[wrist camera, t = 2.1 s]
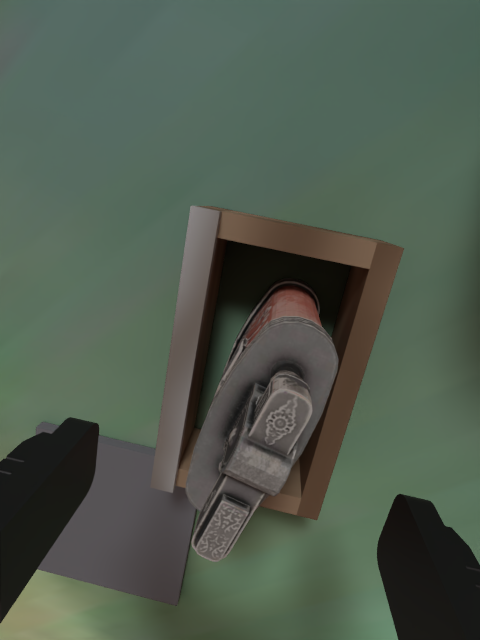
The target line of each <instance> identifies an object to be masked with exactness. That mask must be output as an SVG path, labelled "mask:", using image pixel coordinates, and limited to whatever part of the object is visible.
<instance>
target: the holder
mask: <svg viewBox="0 0 480 640" xmlns="http://www.w3.org/2000/svg"><path fill="white" fill-rule="evenodd" d="M228 240H231V241H236V242H241V243H246V244H250V245H255V246H260V247H265V248H270V249H275V250H279V251H284V252H289V253H294V254H299V255H304V256H309V257H313V258H318V259H323V260H328V261H333V262H338V263H342V264H347V265H352V266H351V269H350V273H349V276H348V280H347V283H346V287H345V290H344V294H343V298H342V301H341V305H340V308H339V312H338V315H337V319H336V322H335V326H334V330H333V333H332V337H331V338H332V341H333V344H334V346H335V350H336V353H337V356H338V368H337V373H336V376H335V379H334V382H333V384H332V387H331V390H330V393H329V396H328V399H327V401H326V404H325V407H324V410H323V413H322V415H321V417H320V419H319V421H318V423H317V425H316V427H315V429H314V431H313V433H312V435H311V437H310V439H309V440H308V442H307V444H306V446H305V448H304V450H303V452H302V454H301V455H300V457H299V458H298V459H297V461H296V462H295V463H294V465H293V466H292V468H291V470H290V473H289V476H288V478H287V480H286V482H285V484H284V486H283V487H282V489H281V490H280V492H279V494H277V495H276V496H275V497H274V496H271V495H269V496H268V497H267V498H266V499H265V500H264V501H263V502H262V504H261V505H260V506H261V507H265V508H269V509H273V510H277V511H281V512H285V513H289V514H294V515H298V516H302V517H306V518H310V519H314V520H317V519H318V516H319V513H320V510H321V507H322V503H323V500H324V497H325V494H326V491H327V488H328V485H329V482H330V478H331V475H332V472H333V469H334V466H335V463H336V460H337V457H338V453H339V450H340V447H341V444H342V441H343V438H344V435H345V432H346V428H347V425H348V422H349V419H350V416H351V413H352V410H353V407H354V403H355V400H356V397H357V394H358V391H359V388H360V385H361V381H362V378H363V375H364V372H365V369H366V366H367V363H368V360H369V356H370V353H371V350H372V347H373V344H374V341H375V338H376V335H377V331H378V328H379V325H380V322H381V319H382V316H383V313H384V310H385V306H386V303H387V300H388V297H389V294H390V291H391V288H392V285H393V281H394V278H395V275H396V272H397V269H398V266H399V263H400V259H401V256H402V253H403V250H404V248H402V247H399V246H396V245H393V244H390V243H387V242H384V241H381V240H376V239H371V238H366V237H361V236H356V235H351V234H346V233H341V232H336V231H332V230H327V229H322V228H317V227H312V226H307V225H302V224H297V223H292V222H287V221H282V220H277V219H272V218H267V217H262V216H257V215H252V214H247V213H242V212H237V211H232V210H228V209H223V208H218V207H213V206H191V208H190V215H189V222H188V229H187V236H186V243H185V250H184V256H183V263H182V270H181V277H180V284H179V291H178V298H177V305H176V312H175V319H174V326H173V333H172V340H171V347H170V354H169V361H168V367H167V374H166V381H165V388H164V395H163V402H162V409H161V416H160V423H159V430H158V437H157V444H156V451H155V458H154V465H153V471H152V478H151V485H150V488H155V489H159V490H163V491H167V492H171V493H173V491H174V488H175V486H179V487H184V488H186V480H187V476H188V471H189V467H190V463H191V459H192V455H193V451H194V447H195V444H196V442H197V439H198V437H199V434H200V431H201V429H197V428H194V427H195V421H196V416H197V410H198V404H199V399H200V393H201V387H202V382H203V376H204V371H205V365H206V359H207V354H208V348H209V342H210V337H211V331H212V325H213V320H214V314H215V309H216V303H217V297H218V292H219V286H220V280H221V275H222V269H223V263H224V258H225V252H226V247H227V241H228Z"/></svg>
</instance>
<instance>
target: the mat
mask: <svg viewBox="0 0 480 640" xmlns="http://www.w3.org/2000/svg"><path fill="white" fill-rule="evenodd" d="M58 427H59V426H58V425H54V424H50V423H46V422H42V423H40V424H39V425H38V426H37V427H36V435H37V434H39V433H42V432H46V433H50V434H52V433H53V432H54V431H55V430H56V429H57V428H58ZM155 451H156V449H154V448H150V447H145V446H141V445H137V444H133V443H129V442H125V441H120V440H116V439H112V438H108V437H104V436H100V435H99V438H98V448H97V459H96V470H95V475H94V479H93V482H92V485H91V487H90V490H89V492H88V494H87V495H86V497H85V498H84V500H83V501H82V503H81V504H80V506H79V507H78V509H77V510H76V512H75V513H74V515H73V516H72V518H71V519H70V521H69V522H68V524H67V525H66V527H65V528H64V530H63V531H62V533H61V534H60V536H59V537H58V539H57V540H56V542H55V543H54V544H53V546H52V547H51V549H50V550H49V552H48V553H47V555H46V556H45V558H44V559H43V561H42V562H41V564H40V565H39V567H38V568H37V569H39V570H42V571H46V572H50V573H54V574H58V575H61V576H65V577H69V578H73V579H77V580H80V581H84V582H88V583H92V584H96V585H99V586H103V587H107V588H111V589H115V590H118V591H122V592H126V593H130V594H133V595H137V596H141V597H145V598H149V599H152V600H156V601H160V602H164V603H168V604H171V605H175V606H177V604H178V601H179V597H180V592H181V587H182V581H183V576H184V571H185V566H186V561H187V556H188V551H189V545H190V540H191V535H192V530H193V525H194V520H195V515H196V508H195V507H194V506H193V505H192V504H191V502H190V501H189V499H188V496H187V494H186V488H184V487H179V486H175V488H174V491H173V493H171V492H167V491H163V490H159V489H155V488H150V485H151V478H152V471H153V465H154V458H155Z"/></svg>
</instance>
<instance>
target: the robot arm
mask: <svg viewBox="0 0 480 640" xmlns="http://www.w3.org/2000/svg"><path fill="white" fill-rule="evenodd" d="M98 438H99V425H98V424H97V423H93V422H89V421H84V420H80V419H76V418H71V417H70V418H67V419H66V420H65V421H64V422H63V423H62V424H61V425H60V426H59V427H58V428H57V429H56V430H55V431H54V432H53V433H52V434H50V433H46V432H42V433H39V434H37V435H35V436H33V437H31V438H29V439H27V440H25V441H23V442H22V443H21V444H19V445H18V446H17V447H16V448H15V449H14V450H13V451H12V452H11V453H10V454H8V455H7V458H6V459H3V460H2V461H1V462H0V623H1V622H2V620H3V619H4V617H5V616H6V614H7V613H8V611H9V610H10V608H11V607H12V605H13V604H14V603H15V601H16V600H17V598H18V597H19V595H20V594H21V592H22V591H23V589H24V588H25V586H26V585H27V583H28V582H29V580H30V579H31V577H32V576H33V574H34V573H35V571H36V570H37V568H38V567H39V565H40V564H41V562H42V561H43V559H44V558H45V556H46V555H47V553H48V552H49V550H50V549H51V547H52V546H53V544H54V543H55V542H56V540H57V539H58V537H59V536H60V534H61V533H62V531H63V530H64V528H65V527H66V525H67V524H68V522H69V521H70V519H71V518H72V516H73V515H74V513H75V512H76V510H77V509H78V507H79V506H80V504H81V503H82V501H83V500H84V498H85V497H86V495H87V494H88V492H89V490H90V487H91V485H92V482H93V479H94V475H95V470H96V459H97V448H98ZM377 561H378V567H379V571H380V574H381V578H382V581H383V585H384V589H385V592H386V596H387V600H388V603H389V607H390V611H391V614H392V618H393V621H394V625H395V629H396V632H397V636H398V640H480V565H479V563H478V561H477V559H476V558H475V556H474V554H473V552H472V550H471V549H470V547H469V546H468V545H467V544H466V543H465V542H464V541H463V540H462V538H461V537H460V536H459V535H458V534H457V533H456V532H455V531H454V530H453V529H452V528H451V527H447V526H445V525H444V524H443V522H442V520H441V518H440V516H439V514H438V512H437V510H436V508H435V506H434V505H433V503H432V502H431V501H428V500H424V499H420V498H416V497H411V496H407V495H403V494H399V495H397V496H396V498H395V499H394V502H393V504H392V507H391V509H390V512H389V514H388V517H387V520H386V522H385V525H384V527H383V530H382V532H381V535H380V538H379V541H378V547H377Z"/></svg>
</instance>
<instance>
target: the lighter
mask: <svg viewBox="0 0 480 640" xmlns="http://www.w3.org/2000/svg"><path fill="white" fill-rule="evenodd" d="M319 309H320V305H319V302H318V298H317V295H316V293H315V292H314V290H313V289H312V288H311V286H309V285H308V284H306V283H305V282H303V281H301V280H298V279H294V278H284V279H282V280H279V281H276V282H275V283H274V284H273V285H272V286H270V288H269V289H268V290H267V292H266V293H265V294H264V296H263V297H262V298H261V300H260V301H259V302H258V303H257V305H256V306H255V307H254V309H253V310H252V312H251V313H250V315H249V317H248V318H247V320H246V322H245V324H244V325H243V327H242V329H241V331H240V332H239V334H238V336H237V338H236V340H235V343H234V346H233V348H232V351H231V353H230V356H229V358H228V361H227V363H226V366H225V368H224V372H223V375H222V378H221V380H220V383H219V385H218V388H217V390H216V393H215V395H214V398H213V400H212V403H211V406H210V408H209V411H208V414H207V416H206V419H205V421H204V424H203V426H202V429H201V431H200V434H199V437H198V439H197V442H196V444H195V447H194V451H193V455H192V459H191V463H190V467H189V471H188V476H187V480H186V494H187V496H188V499H189V501H190V502H191V504H192V505H193V506H194V507H195V508H196V509H197V510H198V511H200V514H199V517H198V520H197V524H196V527H195V531H194V534H193V538H192V541H191V542H192V547H193V548H194V549H195V550H196V552H197V554H198V555H200V556H202V557H204V558H206V559H208V560H211V561H214V562H217V561H219V560H220V559H223V558H225V557H226V556H227V555H228V554H229V552H230V551H231V549H232V547H233V546H234V544H235V542H236V541H237V539H238V537H239V536H240V534H241V532H242V531H243V529H244V527H245V526H246V524H247V522H248V521H249V519H250V517H251V516H252V514H253V512H254V511H255V510H256V509H257V508H258V507H259V506H260V505H261V504H262V502H263V501H264V500H265V499H266V498H267V497H268V496H269V495H271V496H274V497H275V496H276V495H277V494H279V492H280V490H281V489H282V487H283V486H284V484H285V482H286V480H287V478H288V476H289V473H290V470H291V468H292V466H293V465H294V463H295V462H296V461H297V459H298V458H299V457H300V455H301V454H302V452H303V450H304V448H305V446H306V444H307V442H308V440H309V439H310V437H311V435H312V433H313V431H314V429H315V427H316V425H317V423H318V421H319V419H320V417H321V415H322V413H323V410H324V407H325V404H326V401H327V399H328V396H329V393H330V390H331V387H332V384H333V382H334V379H335V376H336V373H337V368H338V356H337V353H336V350H335V346H334V344H333V341H332V338H331V337H330V336H329V335H328V333H327V332H326V331H325V329H324V328H323V327H322V325H321V322H320V319H319Z"/></svg>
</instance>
